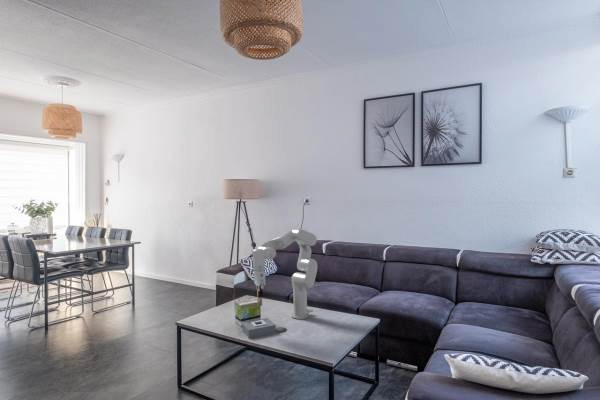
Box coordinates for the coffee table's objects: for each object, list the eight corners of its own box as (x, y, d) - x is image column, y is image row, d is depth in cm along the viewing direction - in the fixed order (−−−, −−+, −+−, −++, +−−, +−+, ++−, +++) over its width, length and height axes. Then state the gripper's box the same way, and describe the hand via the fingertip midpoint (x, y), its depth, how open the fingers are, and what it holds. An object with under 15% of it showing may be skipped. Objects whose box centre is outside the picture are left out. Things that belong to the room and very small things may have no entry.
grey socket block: (267, 325, 241) (267, 317, 241) (275, 332, 229) (275, 323, 229) (242, 330, 233) (241, 322, 233) (248, 338, 221) (248, 329, 221)
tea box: (241, 327, 239) (240, 305, 239) (235, 323, 248) (234, 301, 247) (261, 322, 248) (260, 301, 247) (254, 318, 256) (254, 297, 256)
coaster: (283, 327, 238) (283, 326, 238) (288, 331, 230) (288, 330, 230) (272, 329, 234) (272, 328, 234) (277, 333, 227) (277, 332, 227)
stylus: (261, 304, 233) (260, 286, 233) (262, 305, 230) (262, 287, 230) (256, 305, 232) (256, 286, 231) (258, 306, 229) (257, 287, 229)
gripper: (268, 269, 225) (269, 298, 225) (260, 265, 239) (261, 292, 240) (257, 271, 221) (258, 300, 222) (249, 266, 236) (250, 294, 236)
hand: (259, 296), depth 231 cm, fingers closed on stylus, 3 cm apart
